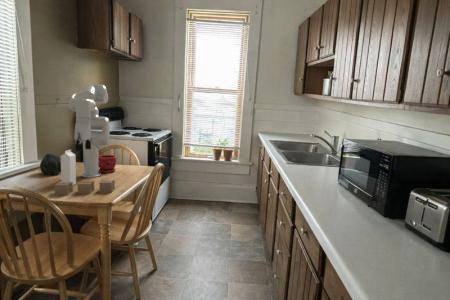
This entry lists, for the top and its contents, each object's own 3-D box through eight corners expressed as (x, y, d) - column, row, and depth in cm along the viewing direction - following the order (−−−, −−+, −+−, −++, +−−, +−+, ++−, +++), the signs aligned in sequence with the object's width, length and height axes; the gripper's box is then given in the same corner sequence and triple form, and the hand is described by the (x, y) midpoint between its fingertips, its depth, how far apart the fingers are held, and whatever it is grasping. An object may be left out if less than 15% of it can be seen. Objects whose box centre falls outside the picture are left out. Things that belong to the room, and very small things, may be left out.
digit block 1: (60, 191, 177) (60, 181, 176) (72, 191, 178) (72, 181, 177) (54, 195, 170) (54, 184, 169) (68, 195, 171) (67, 184, 170)
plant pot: (119, 170, 233) (119, 155, 231) (109, 174, 220) (109, 158, 218) (104, 169, 236) (104, 153, 234) (93, 172, 223) (93, 156, 221)
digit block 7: (102, 188, 186) (102, 179, 185) (114, 189, 187) (114, 179, 186) (99, 192, 179) (99, 182, 178) (111, 192, 180) (111, 182, 179)
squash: (72, 165, 219) (58, 148, 218) (58, 170, 204) (43, 153, 203) (58, 176, 222) (45, 160, 220) (44, 182, 207) (30, 165, 206)
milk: (61, 185, 187) (60, 150, 184) (67, 183, 193) (66, 149, 190) (70, 186, 187) (69, 151, 183) (76, 183, 193) (75, 149, 189)
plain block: (82, 190, 182) (82, 180, 181) (94, 190, 182) (94, 180, 181) (77, 193, 175) (77, 183, 174) (90, 194, 175) (90, 184, 174)
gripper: (85, 120, 183) (85, 148, 185) (68, 120, 166) (68, 151, 168) (97, 120, 183) (97, 148, 185) (81, 121, 165) (81, 152, 167)
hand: (83, 150), depth 176 cm, fingers open, 9 cm apart
